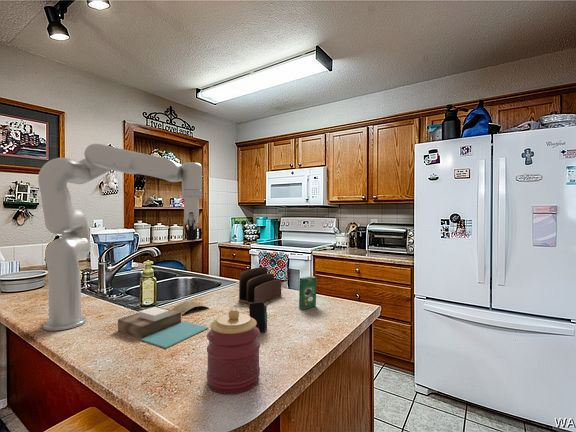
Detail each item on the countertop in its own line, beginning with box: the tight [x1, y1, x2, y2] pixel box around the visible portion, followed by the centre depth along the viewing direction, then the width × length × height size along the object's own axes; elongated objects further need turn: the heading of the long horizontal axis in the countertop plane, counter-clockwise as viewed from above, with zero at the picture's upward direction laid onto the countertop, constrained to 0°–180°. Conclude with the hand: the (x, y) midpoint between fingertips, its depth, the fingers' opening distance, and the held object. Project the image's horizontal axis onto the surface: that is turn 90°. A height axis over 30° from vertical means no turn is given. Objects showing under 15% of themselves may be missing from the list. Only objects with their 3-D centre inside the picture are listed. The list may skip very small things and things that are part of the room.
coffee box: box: [298, 276, 317, 310], centre depth 132 cm, size 8×3×13 cm, turn 129°
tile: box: [138, 306, 169, 321], centre depth 109 cm, size 8×6×2 cm
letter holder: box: [238, 266, 282, 305], centre depth 145 cm, size 10×20×14 cm, turn 145°
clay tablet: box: [171, 301, 206, 316], centre depth 129 cm, size 14×10×3 cm
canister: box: [206, 308, 261, 395], centre depth 76 cm, size 13×13×18 cm
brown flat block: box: [117, 306, 182, 339], centre depth 110 cm, size 13×16×4 cm
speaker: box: [248, 302, 268, 334], centre depth 108 cm, size 8×6×10 cm
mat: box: [139, 320, 209, 350], centre depth 103 cm, size 12×18×1 cm, turn 151°
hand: (192, 239), depth 119 cm, fingers open, 9 cm apart
